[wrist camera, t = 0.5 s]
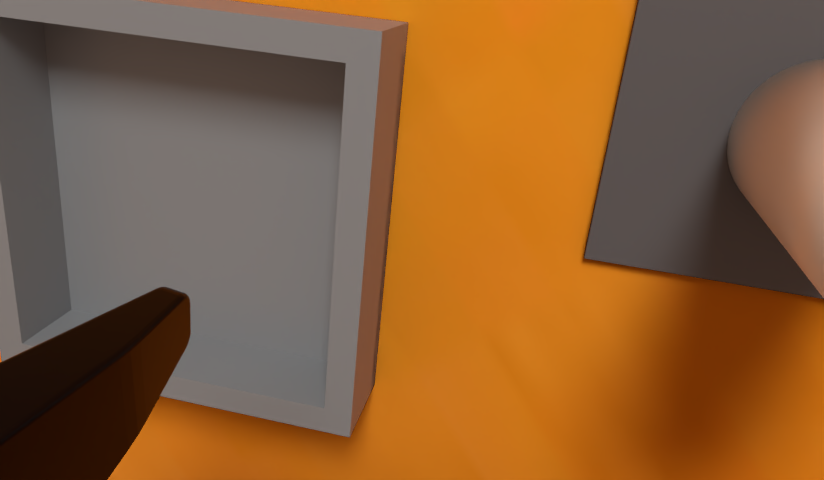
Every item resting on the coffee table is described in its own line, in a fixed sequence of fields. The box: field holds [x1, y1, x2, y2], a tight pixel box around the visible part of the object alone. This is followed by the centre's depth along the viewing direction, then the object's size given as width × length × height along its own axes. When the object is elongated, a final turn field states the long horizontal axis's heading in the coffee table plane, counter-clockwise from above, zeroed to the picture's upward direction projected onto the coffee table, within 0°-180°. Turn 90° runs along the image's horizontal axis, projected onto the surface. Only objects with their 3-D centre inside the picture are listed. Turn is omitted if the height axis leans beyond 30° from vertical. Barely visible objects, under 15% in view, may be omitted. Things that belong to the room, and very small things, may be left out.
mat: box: [584, 0, 824, 299], centre depth 21 cm, size 10×12×1 cm
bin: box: [0, 0, 408, 437], centre depth 25 cm, size 14×14×4 cm
